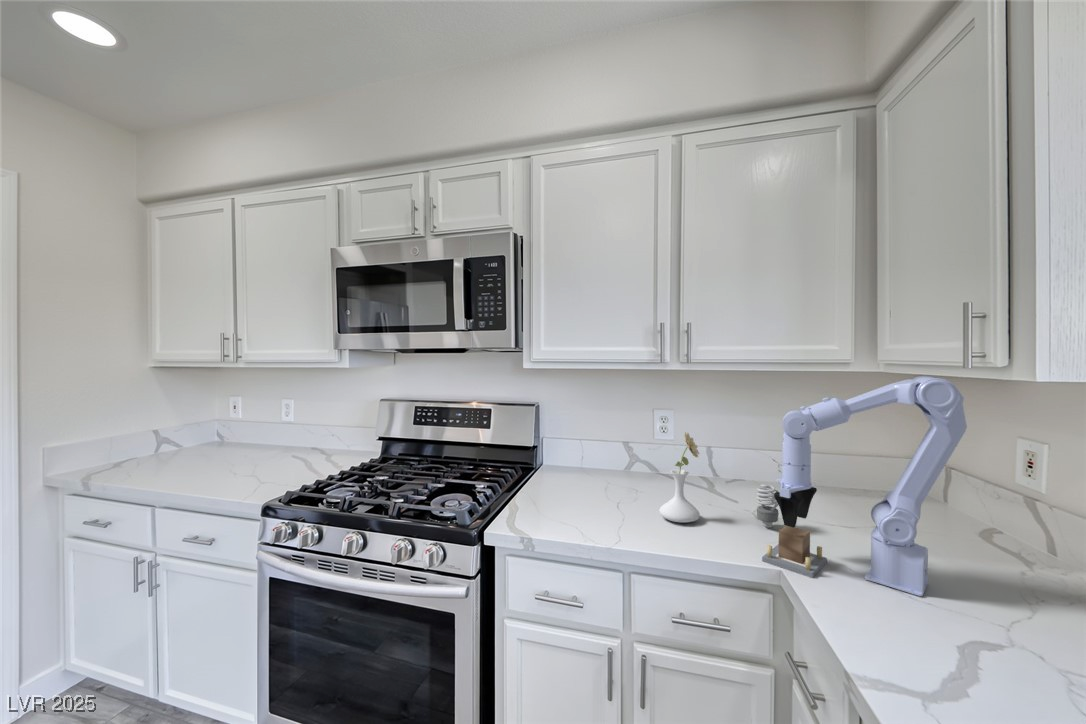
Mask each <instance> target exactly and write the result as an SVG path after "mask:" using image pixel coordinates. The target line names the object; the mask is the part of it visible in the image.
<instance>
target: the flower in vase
mask: <svg viewBox="0 0 1086 724" xmlns="http://www.w3.org/2000/svg"><path fill="white" fill-rule="evenodd" d="M683 437H684V443H685V444H686V447H685V449H684V450H683V453H682V455H681V460H680V461H677V462H676V463H675V465H674V466H675V467H678V468H679V469H671V470H670V473H671V475H672V476H673V479H674V485H675V491H674V492H675V493H674V495H673V497H672V498H671V499H669V500H668V501H667V502H665V503H664V504H662V505H661V506H660V508H659V510H658V513H659V514H660V516H661V517H662V518H664V519H666V520H668V521H671V522H675V523H681V524H682V523H692V522H695V521H698V520H699V519H700V517H701V514H700V512H699V510H698V509H697V507H695V505H693V504H692V503H691V502H689V501H688V500H687V498H686V497H685V494H684V486H685V481H686V478H687V476H688V475H689V471H687V470H683V469H682V467H683V466H684V465H685V466H688V465H689V459H688V458H687V457H686V456H685V453H686V452H687V449H688V451H689V452H690V453H691V455H692V456H693V457H694V458H697V459H698V458H700V457H699V455H700V452H699V450H698V449H699V448H698V446H697V444H696V442H695V441H694V438H693V437H690V434H689V432H685V431H684V433H683Z"/></svg>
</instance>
